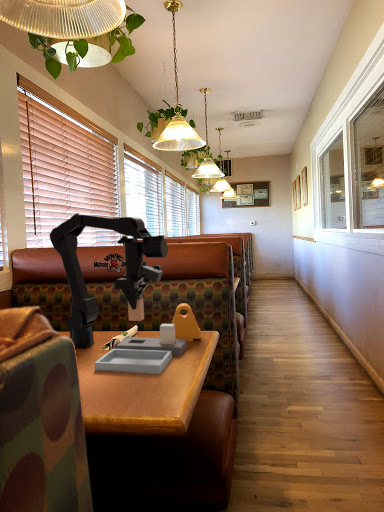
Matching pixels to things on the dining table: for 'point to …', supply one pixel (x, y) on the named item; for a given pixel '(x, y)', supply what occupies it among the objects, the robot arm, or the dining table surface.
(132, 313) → the block
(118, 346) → the block
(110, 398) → the dining table surface
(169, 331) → the block
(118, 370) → the parts tray
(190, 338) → the bracket
